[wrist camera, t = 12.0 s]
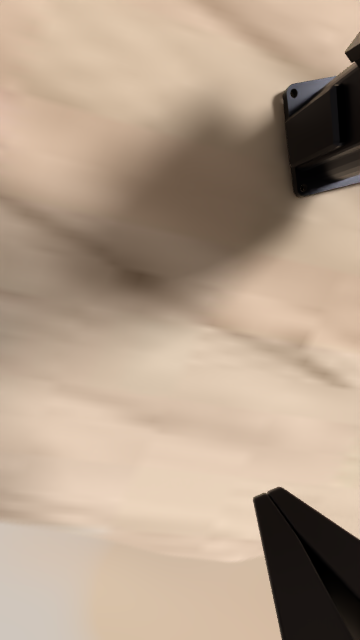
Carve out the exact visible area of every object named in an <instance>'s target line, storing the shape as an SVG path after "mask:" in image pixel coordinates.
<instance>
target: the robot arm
mask: <svg viewBox="0 0 360 640" xmlns="http://www.w3.org/2000/svg"><path fill="white" fill-rule="evenodd" d="M345 54H346V55H347V57H348V58H349V60H350V61H351V63H352V62H354V61H355V62H354V63H353V64H352V65H350V66H349V67H348V68H347V69H345V70H344V71H343V72H342V73H340V74H339V75H338V76H334V77H329V78H323V79H317V80H312V81H306V82H301V83H295V84H292V85H290V86H289V87H288V88H287V89H286V90H285V91H284V94H283V101H284V110H285V119H286V123H285V127H286V135H287V144H288V153H289V162H290V165H291V172H292V181H293V190H294V194H295V195H296V196H297V197H303V196H307V195H311V194H315V193H319V192H323V191H327V190H331V189H335V188H339V187H343V186H347V185H351V184H355V183H359V182H360V32H359V34H358V35H357V36H356V38H355V39H354V40H353V42H352V43H351V44H350V46H349V47H348V48H347V50H346V51H345ZM290 92H292V93H293V95H294V98H292V97H291V95H290ZM301 185H302V186H303V192H302V191H301V189H300V188H301ZM253 502H254V507H255V512H256V517H257V522H258V527H259V531H260V536H261V541H262V546H263V551H264V555H265V560H266V565H267V570H268V575H269V580H270V584H271V589H272V594H273V599H274V603H275V608H276V613H277V618H278V623H279V627H280V632H281V637H282V640H360V540H359V539H358V538H356V537H355V536H353V535H352V534H350V533H349V532H347V531H346V530H344V529H343V528H341V527H340V526H338V525H337V524H335V523H334V522H333V521H331V520H330V519H328V518H327V517H325V516H324V515H322V514H321V513H319V512H318V511H316V510H315V509H313V508H312V507H310V506H309V505H307V504H306V503H304V502H303V501H301V500H300V499H298V498H297V497H295V496H294V495H293V494H291V493H290V492H288V491H287V490H285V489H284V488H282V487H277V488H274V489H272V490H270V491H268V492H267V494H266V493H263V494H260V495H258V496H255V497H254V498H253Z"/></svg>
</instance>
